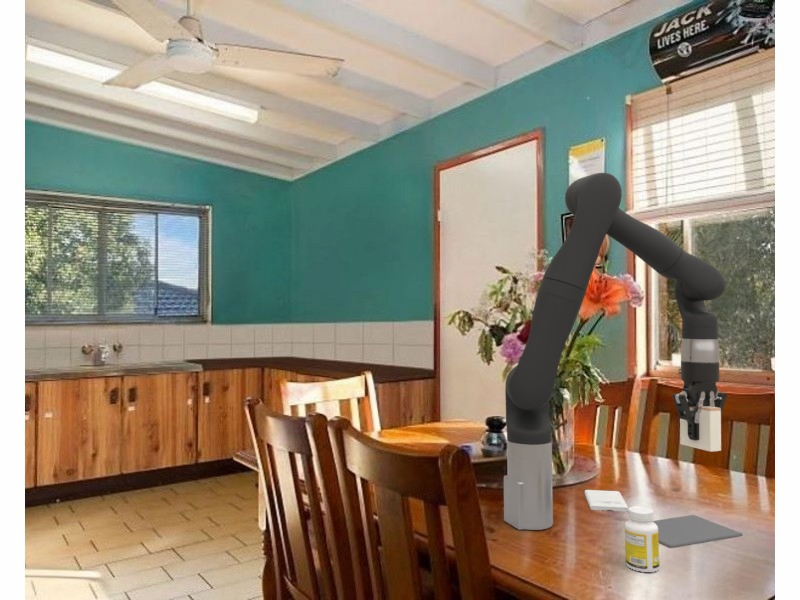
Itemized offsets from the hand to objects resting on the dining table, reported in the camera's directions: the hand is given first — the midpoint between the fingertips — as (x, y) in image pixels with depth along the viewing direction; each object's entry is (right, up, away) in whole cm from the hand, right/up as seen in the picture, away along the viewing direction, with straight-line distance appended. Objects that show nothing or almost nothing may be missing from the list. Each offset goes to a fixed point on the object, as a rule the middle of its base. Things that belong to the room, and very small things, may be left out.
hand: (700, 438), depth 130 cm
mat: (-8, -16, -10) cm, 21 cm away
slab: (0, -2, 0) cm, 2 cm away
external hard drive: (-17, -18, +9) cm, 26 cm away
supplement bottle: (-24, -16, -27) cm, 39 cm away
